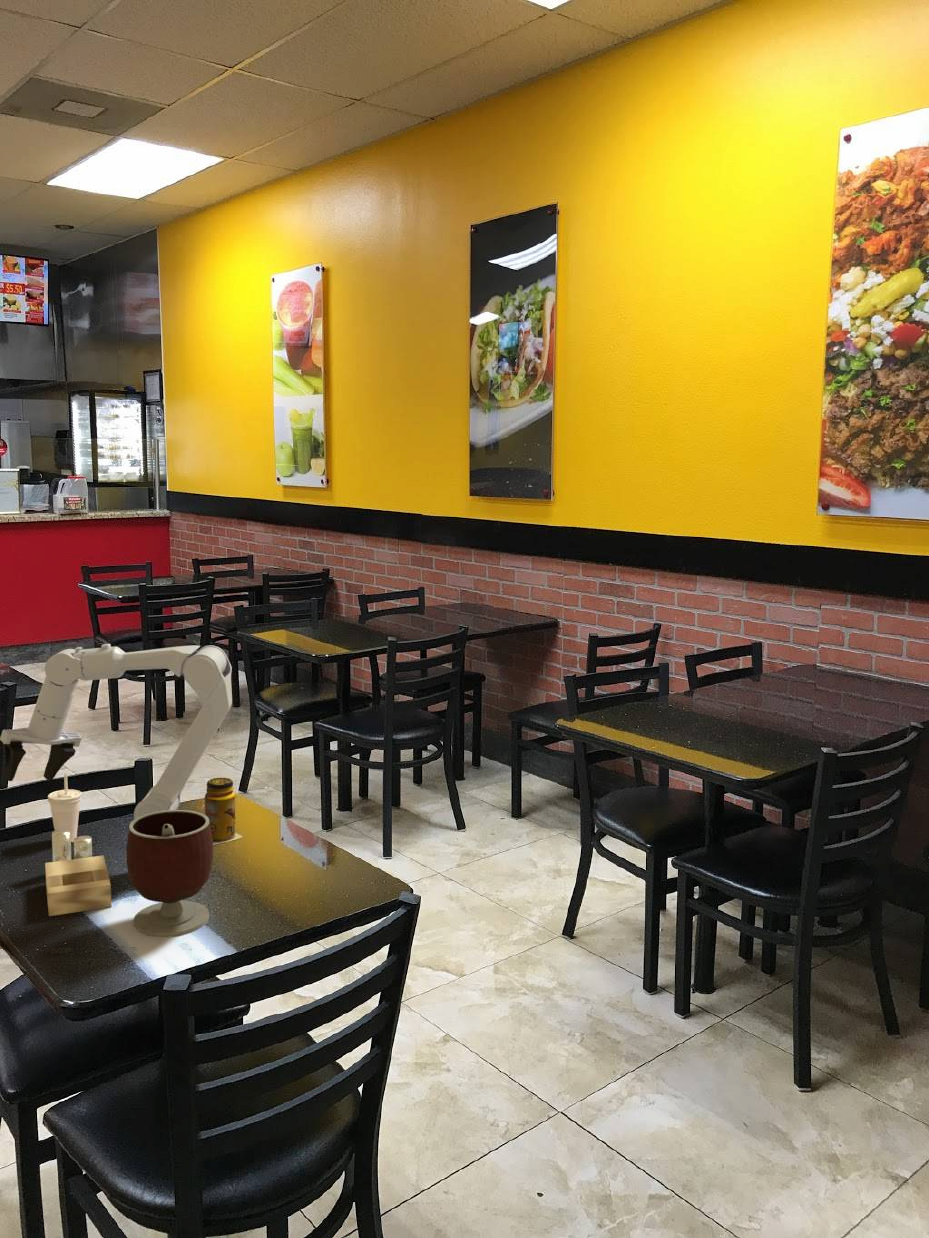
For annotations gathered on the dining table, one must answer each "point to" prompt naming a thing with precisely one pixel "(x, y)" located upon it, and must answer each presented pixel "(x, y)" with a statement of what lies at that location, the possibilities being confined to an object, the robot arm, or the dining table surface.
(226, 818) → the condiment
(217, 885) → the dining table surface
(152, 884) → the mate gourd
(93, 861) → the pin block
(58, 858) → the tall pin
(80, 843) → the short pin
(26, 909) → the dining table surface
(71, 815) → the smoothie
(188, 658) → the robot arm
